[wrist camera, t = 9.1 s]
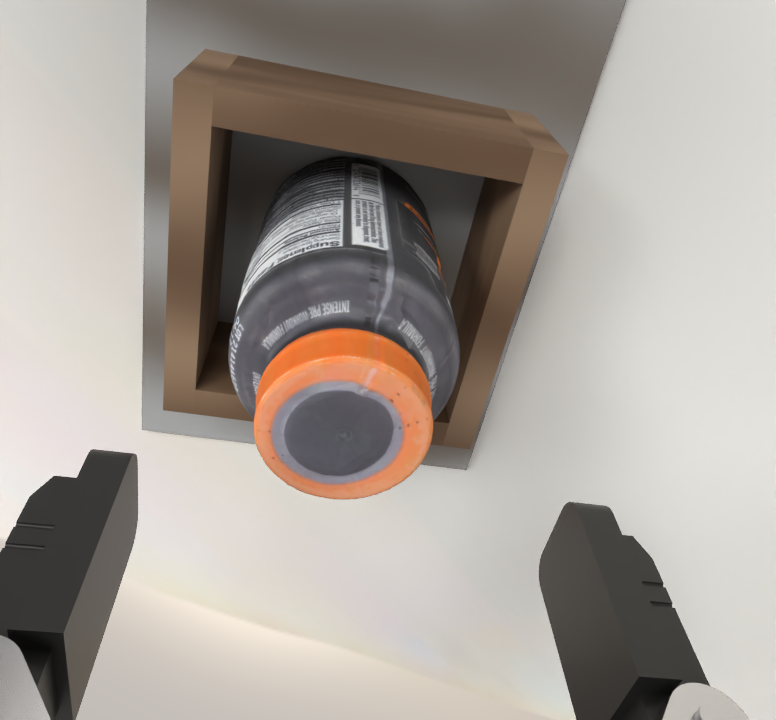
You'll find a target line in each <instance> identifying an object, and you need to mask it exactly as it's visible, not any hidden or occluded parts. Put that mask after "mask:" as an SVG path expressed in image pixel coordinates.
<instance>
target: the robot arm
mask: <svg viewBox="0 0 776 720" xmlns="http://www.w3.org/2000/svg"><path fill="white" fill-rule="evenodd" d="M137 521H138V465H137V456H136V454H132V453H122V452H113V451H104V450H95V449H93V450H91V451H90V452H89V454H88V455H87V457H86V459H85V462H84V464H83V466H82V468H81V470H80V472H79V475H78V477H77V478H71V477H61V476H53V477H52V478H51V479H50V480H49V481H48V482H46V483H45V484H44V485H43V486H42V487H40V488H39V489H38V490H37V491H36V492H35V493H33V494H32V495H31V496H30V497H29V499H28V501H27V503H26V505H25V507H24V509H23V510H22V512H21V514H20V516H19V518H18V520H17V523H16V527H14V528H13V529H12V531H11V533H10V535H9V537H8V539H7V541H6V545H5V548H3V549H2V550H1V552H0V720H75V719H76V716H77V713H78V711H79V708H80V705H81V702H82V699H83V695H84V692H85V689H86V686H87V683H88V680H89V677H90V674H91V671H92V668H93V665H94V662H95V659H96V656H97V653H98V650H99V647H100V644H101V641H102V638H103V635H104V632H105V629H106V626H107V623H108V620H109V617H110V614H111V611H112V608H113V605H114V602H115V599H116V596H117V593H118V590H119V587H120V584H121V581H122V578H123V574H124V571H125V568H126V565H127V562H128V559H129V556H130V553H131V550H132V547H133V543H134V539H135V534H136V529H137ZM539 581H540V587H541V591H542V594H543V598H544V602H545V605H546V609H547V613H548V616H549V620H550V624H551V627H552V631H553V635H554V638H555V642H556V646H557V649H558V653H559V657H560V660H561V664H562V668H563V671H564V675H565V679H566V682H567V686H568V690H569V693H570V697H571V701H572V704H573V708H574V712H575V715H576V719H577V720H749V718H748V717H747V715H746V714H745V713H744V711H743V710H742V709H741V708H740V707H739V706H738V705H737V704H736V703H735V702H734V701H733V700H732V699H731V698H729V697H728V696H727V695H725V694H724V693H722V692H721V691H719V690H717V689H715V688H713V687H710V685H709V683H708V681H707V679H706V677H705V674H704V672H703V670H702V668H701V665H700V663H699V661H698V659H697V657H696V654H695V652H694V650H693V648H692V646H691V643H690V641H689V639H688V637H687V634H686V632H685V630H684V628H683V626H682V623H681V621H680V619H679V617H678V615H677V612H676V610H675V608H672V601H671V599H670V597H669V595H668V592H667V590H666V588H663V581H662V579H661V577H660V575H659V572H658V570H657V568H656V566H655V564H654V561H653V559H652V558H651V557H650V555H649V554H648V553H647V552H646V551H645V550H644V549H643V547H642V546H641V545H640V544H639V543H638V542H637V541H636V539H635V538H634V537H633V536H626V535H622V533H621V531H620V529H619V526H618V524H617V522H616V519H615V517H614V514H613V512H612V511H611V509H610V508H609V507H607V506H602V505H592V504H583V503H574V502H569V503H567V504H566V505H565V506H564V507H563V509H562V511H561V514H560V516H559V518H558V520H557V522H556V524H555V527H554V529H553V531H552V533H551V535H550V537H549V540H548V542H547V544H546V546H545V548H544V550H543V553H542V555H541V559H540V565H539Z"/></svg>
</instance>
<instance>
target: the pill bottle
mask: <svg viewBox="0 0 776 720" xmlns="http://www.w3.org/2000/svg"><path fill="white" fill-rule="evenodd" d="M228 361H229V370H230V375H231V379H232V382H233V386H234V388H235V391H236V393H237V396H238V398H239V400H240V402H241V403H242V405H243V406H244V408H245V409H246V411H247V412H248V413H249V415H250V416H251V417H252V418H253V419H254V438H255V441H256V445H257V448H258V451H259V453H260V455H261V457H262V458H263V460H264V461H265V463H266V465H267V466H268V467H269V468H270V470H271V471H272V472H273V473H274V474H275V475H276V476H278V477H279V478H280V479H282V480H283V481H284V482H285V483H287V484H288V485H290V486H292V487H294V488H296V489H297V490H299V491H302V492H304V493H307V494H311V495H314V496H318V497H324V498H330V499H358V498H363V497H368V496H372V495H375V494H378V493H381V492H383V491H386V490H388V489H390V488H392V487H394V486H395V485H397V484H399V483H400V482H402V481H404V480H405V479H406V478H407V477H409V476H410V475H411V474H412V473H413V472H414V471H415V470H416V469H417V467H418V466H419V465H420V464H421V462H422V461H423V459H424V458H425V456H426V454H427V452H428V449H429V447H430V444H431V440H432V434H433V421H434V420H435V419H436V417H437V416H438V415H439V414H440V412H441V411H442V410H443V408H444V407H445V405H446V403H447V402H448V400H449V398H450V396H451V394H452V391H453V389H454V386H455V383H456V379H457V375H458V371H459V362H460V345H459V340H458V332H457V329H456V323H455V320H454V316H453V312H452V307H451V303H450V299H449V296H448V291H447V288H446V284H445V280H444V276H443V273H442V266H441V263H440V259H439V255H438V252H437V247H436V244H435V239H434V235H433V231H432V228H431V224H430V220H429V217H428V214H427V211H426V208H425V206H424V204H423V202H422V201H421V199H420V198H419V196H418V195H417V193H416V192H415V191H414V190H413V188H412V187H411V185H410V184H409V183H408V182H407V181H406V180H405V179H403V178H402V177H401V176H400V175H399V174H397V173H396V172H394V171H393V170H391V169H390V168H388V167H386V166H384V165H382V164H379V163H377V162H375V161H372V160H368V159H363V158H359V157H334V158H327V159H323V160H320V161H316V162H314V163H312V164H309V165H307V166H305V167H304V168H302V169H301V170H299V171H297V172H296V173H294V174H293V175H292V176H290V177H289V178H288V179H287V180H286V181H285V182H284V183H283V184H282V185H281V186H280V187H279V189H278V190H277V191H276V193H275V194H274V196H273V197H272V199H271V201H270V203H269V205H268V208H267V211H266V213H265V216H264V219H263V223H262V225H261V229H260V233H259V236H258V240H257V243H256V246H255V249H254V252H253V256H252V258H251V261H250V265H249V267H248V271H247V273H246V277H245V280H244V283H243V286H242V290H241V295H240V299H239V303H238V308H237V312H236V316H235V320H234V323H233V326H232V330H231V334H230V338H229V351H228Z"/></svg>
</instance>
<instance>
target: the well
mask: <svg viewBox="0 0 776 720" xmlns="http://www.w3.org/2000/svg"><path fill="white" fill-rule="evenodd" d="M625 1H626V0H147V15H146V104H145V193H144V283H143V372H142V430H147V431H155V432H163V433H171V434H179V435H188V436H196V437H204V438H212V439H220V440H228V441H236V442H244V443H252V444H256V441H255V438H254V419H253V418H252V417H251V416H250V415H249V413H248V412H247V411H246V409H245V408H244V406H243V405H242V403H241V402H240V400H239V398H238V396H237V393H236V391H235V388H234V386H233V382H232V379H231V375H230V370H229V361H228V351H229V338H230V334H231V330H232V326H233V323H234V320H235V316H236V312H237V308H238V303H239V299H240V295H241V290H242V286H243V283H244V280H245V277H246V273H247V271H248V267H249V265H250V261H251V258H252V256H253V252H254V249H255V246H256V243H257V240H258V236H259V233H260V229H261V225H262V223H263V219H264V216H265V213H266V211H267V208H268V205H269V203H270V201H271V199H272V197H273V196H274V194H275V193H276V191H277V190H278V189H279V187H280V186H281V185H282V184H283V183H284V182H285V181H286V180H287V179H288V178H289V177H290V176H292V175H293V174H294V173H296V172H297V171H299V170H301V169H302V168H304V167H305V166H307V165H309V164H312V163H314V162H316V161H320V160H323V159H327V158H334V157H359V158H363V159H368V160H372V161H375V162H377V163H379V164H382V165H384V166H386V167H388V168H390V169H391V170H393V171H394V172H396V173H397V174H399V175H400V176H401V177H402V178H403V179H405V180H406V181H407V182H408V183H409V184H410V185H411V187H412V188H413V190H414V191H415V192H416V193H417V195H418V196H419V198H420V199H421V201H422V202H423V204H424V206H425V208H426V211H427V214H428V217H429V220H430V224H431V228H432V231H433V235H434V239H435V244H436V247H437V252H438V255H439V259H440V263H441V266H442V273H443V276H444V280H445V284H446V288H447V291H448V296H449V299H450V303H451V307H452V312H453V316H454V320H455V323H456V329H457V332H458V340H459V345H460V362H459V371H458V375H457V379H456V383H455V386H454V389H453V391H452V394H451V396H450V398H449V400H448V402H447V403H446V405H445V407H444V408H443V410H442V411H441V412H440V414H439V415H438V416H437V417H436V419H435V420H434V421H433V434H432V440H431V444H430V447H429V449H428V452H427V454H426V456H425V458H424V459H423V461H422V462H421V464H423V465H431V466H439V467H447V468H455V469H463V470H466V469H467V466H468V463H469V460H470V457H471V455H472V452H473V449H474V446H475V443H476V440H477V437H478V434H479V431H480V428H481V425H482V422H483V419H484V416H485V413H486V410H487V407H488V404H489V402H490V399H491V396H492V393H493V390H494V387H495V384H496V381H497V378H498V375H499V372H500V369H501V366H502V363H503V360H504V357H505V354H506V352H507V349H508V346H509V343H510V340H511V337H512V334H513V331H514V328H515V325H516V322H517V319H518V316H519V313H520V310H521V307H522V304H523V301H524V299H525V296H526V293H527V290H528V287H529V284H530V281H531V278H532V275H533V272H534V269H535V266H536V263H537V260H538V257H539V254H540V251H541V249H542V246H543V243H544V240H545V237H546V234H547V231H548V228H549V225H550V222H551V219H552V216H553V213H554V210H555V207H556V204H557V201H558V198H559V196H560V193H561V190H562V187H563V184H564V181H565V178H566V175H567V172H568V169H569V166H570V163H571V160H572V157H573V154H574V151H575V148H576V146H577V143H578V140H579V137H580V134H581V131H582V128H583V125H584V122H585V119H586V116H587V113H588V110H589V107H590V104H591V101H592V98H593V96H594V93H595V90H596V87H597V84H598V81H599V78H600V75H601V72H602V69H603V66H604V63H605V60H606V57H607V54H608V51H609V48H610V45H611V43H612V40H613V37H614V34H615V31H616V28H617V25H618V22H619V19H620V16H621V13H622V10H623V7H624V4H625Z"/></svg>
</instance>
